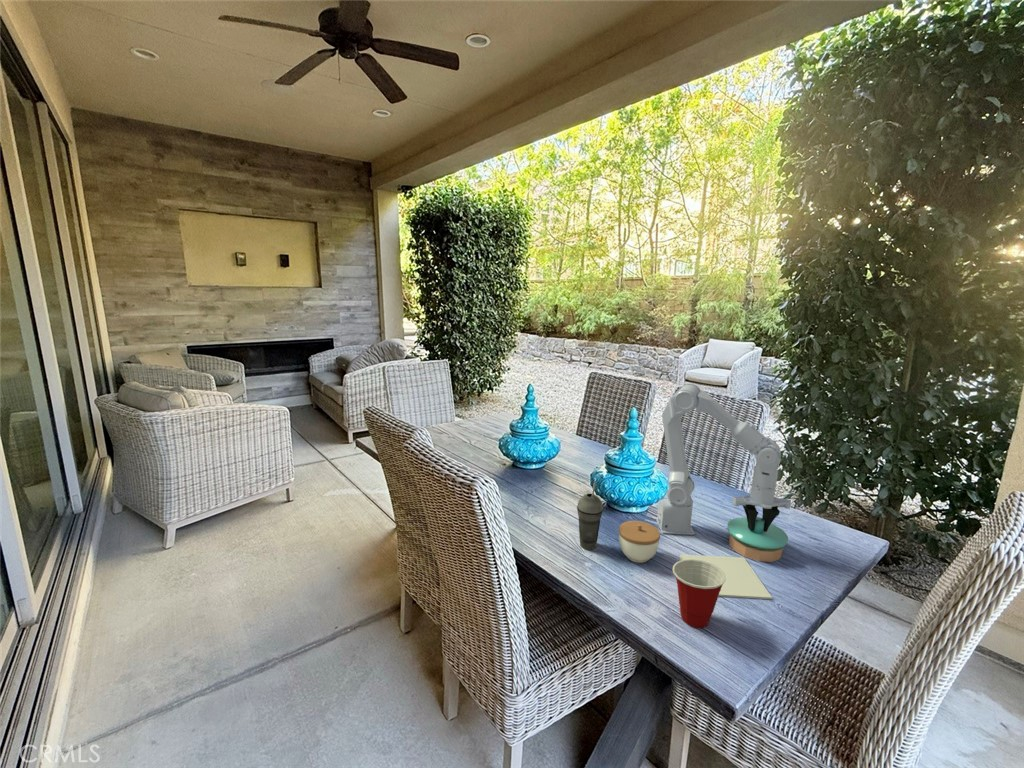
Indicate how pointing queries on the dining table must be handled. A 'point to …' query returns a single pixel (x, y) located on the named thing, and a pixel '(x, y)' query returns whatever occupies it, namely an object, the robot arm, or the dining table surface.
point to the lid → (757, 533)
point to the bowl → (755, 551)
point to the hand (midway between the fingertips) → (757, 529)
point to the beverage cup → (589, 519)
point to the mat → (735, 577)
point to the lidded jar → (638, 540)
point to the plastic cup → (697, 590)
